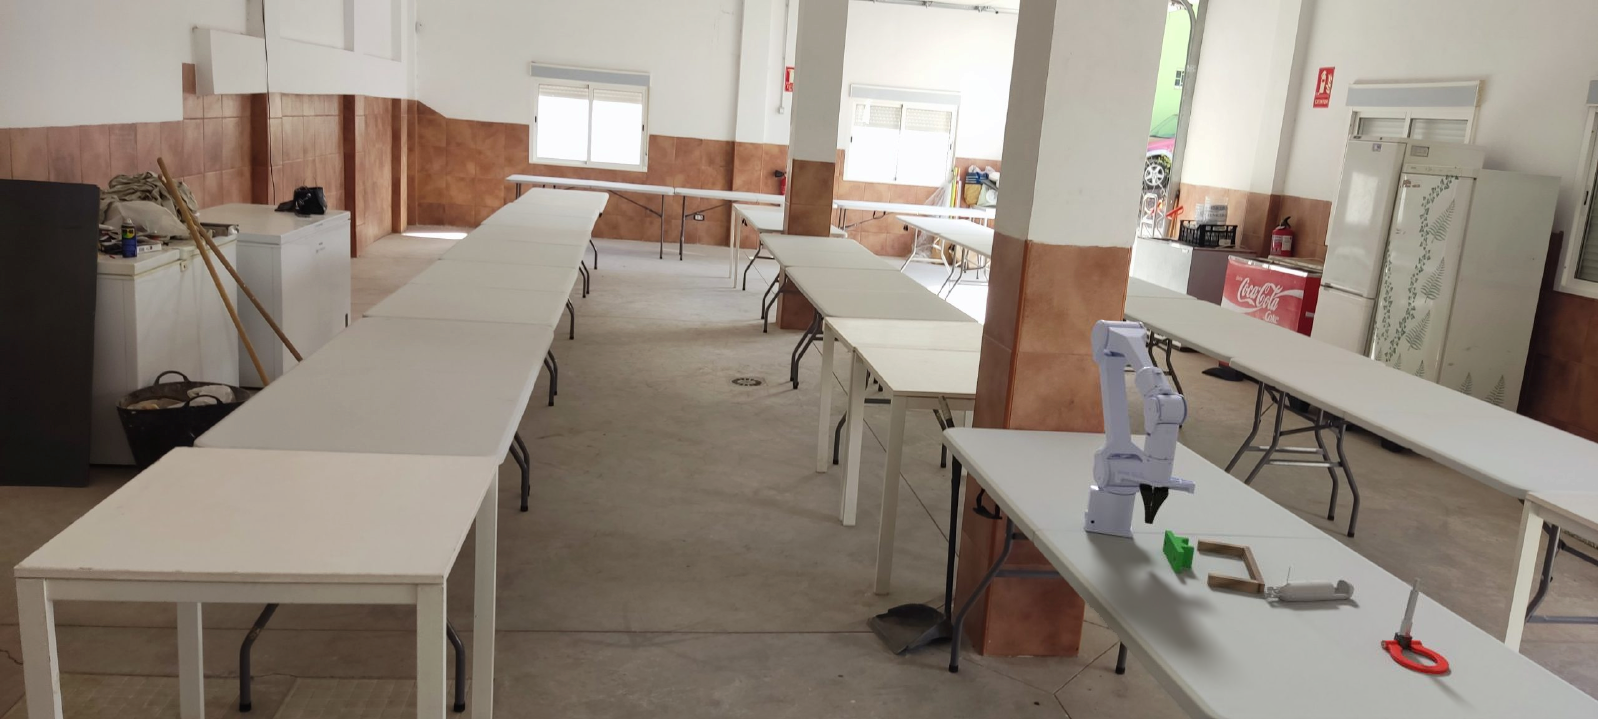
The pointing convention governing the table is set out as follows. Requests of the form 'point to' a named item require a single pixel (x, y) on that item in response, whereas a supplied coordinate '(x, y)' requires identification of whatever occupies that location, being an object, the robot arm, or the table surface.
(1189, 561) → the pipe clamp
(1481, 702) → the table surface
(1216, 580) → the walnut bay
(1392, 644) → the tow hook
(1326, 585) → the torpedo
